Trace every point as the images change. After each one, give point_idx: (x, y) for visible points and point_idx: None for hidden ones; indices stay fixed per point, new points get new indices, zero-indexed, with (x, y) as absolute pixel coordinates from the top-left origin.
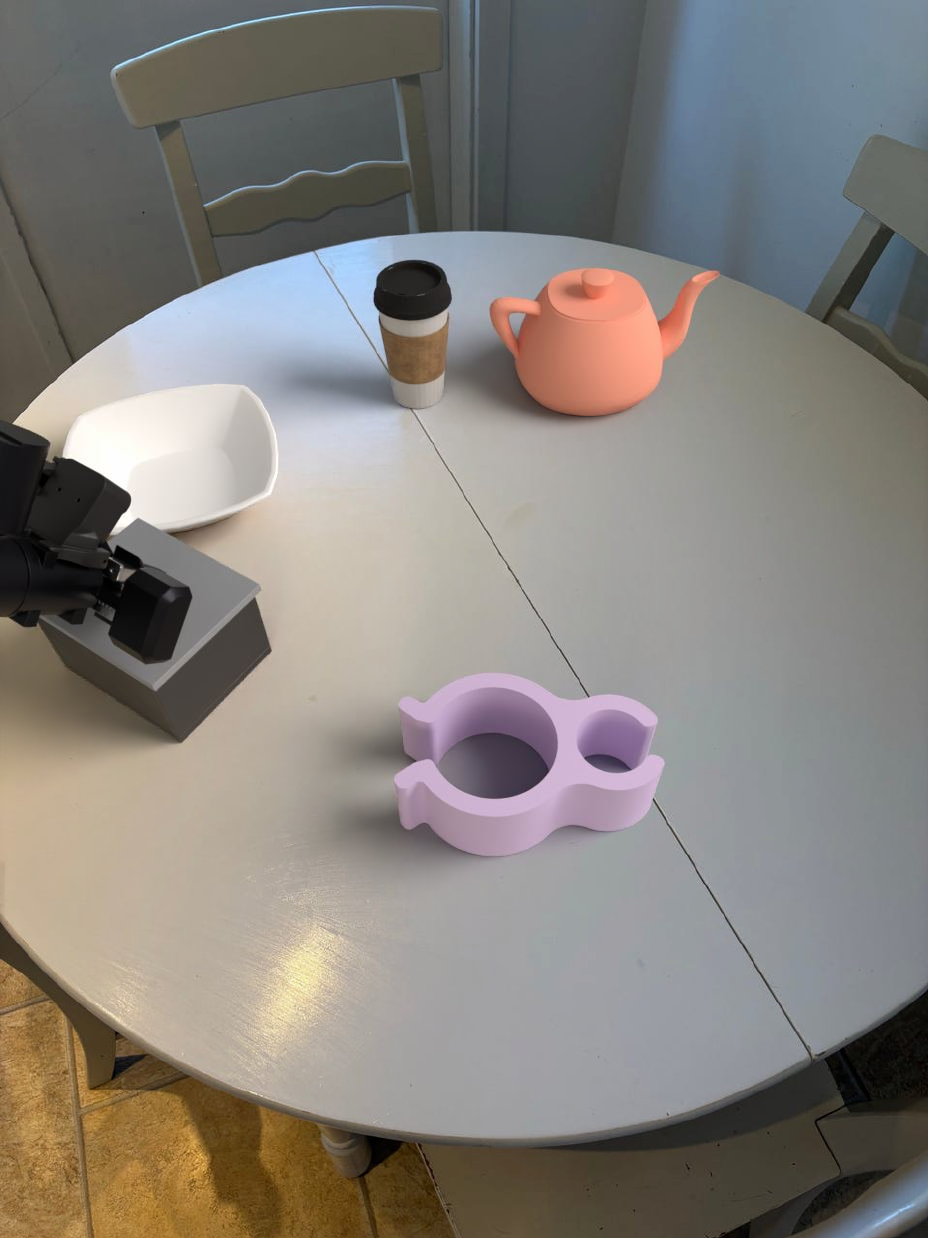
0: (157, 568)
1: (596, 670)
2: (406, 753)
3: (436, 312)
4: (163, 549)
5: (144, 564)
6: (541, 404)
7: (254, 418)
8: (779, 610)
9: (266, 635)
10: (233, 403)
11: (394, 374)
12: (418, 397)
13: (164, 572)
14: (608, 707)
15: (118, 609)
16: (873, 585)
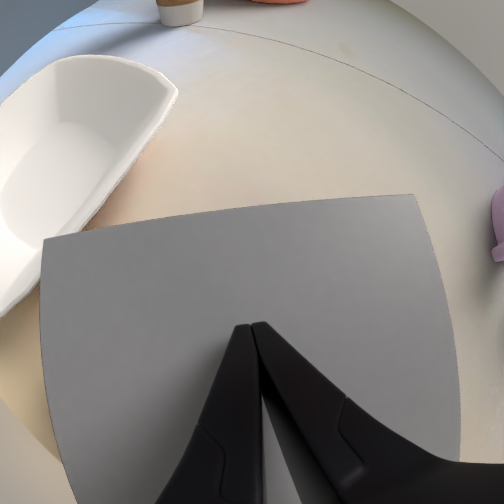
0: (244, 333)
1: (479, 133)
2: (496, 261)
3: None
4: (159, 264)
5: (243, 372)
6: (266, 2)
7: (82, 68)
8: (466, 76)
9: None
10: (52, 78)
11: (172, 2)
12: (194, 13)
13: (271, 327)
14: None
15: None
16: (463, 59)
